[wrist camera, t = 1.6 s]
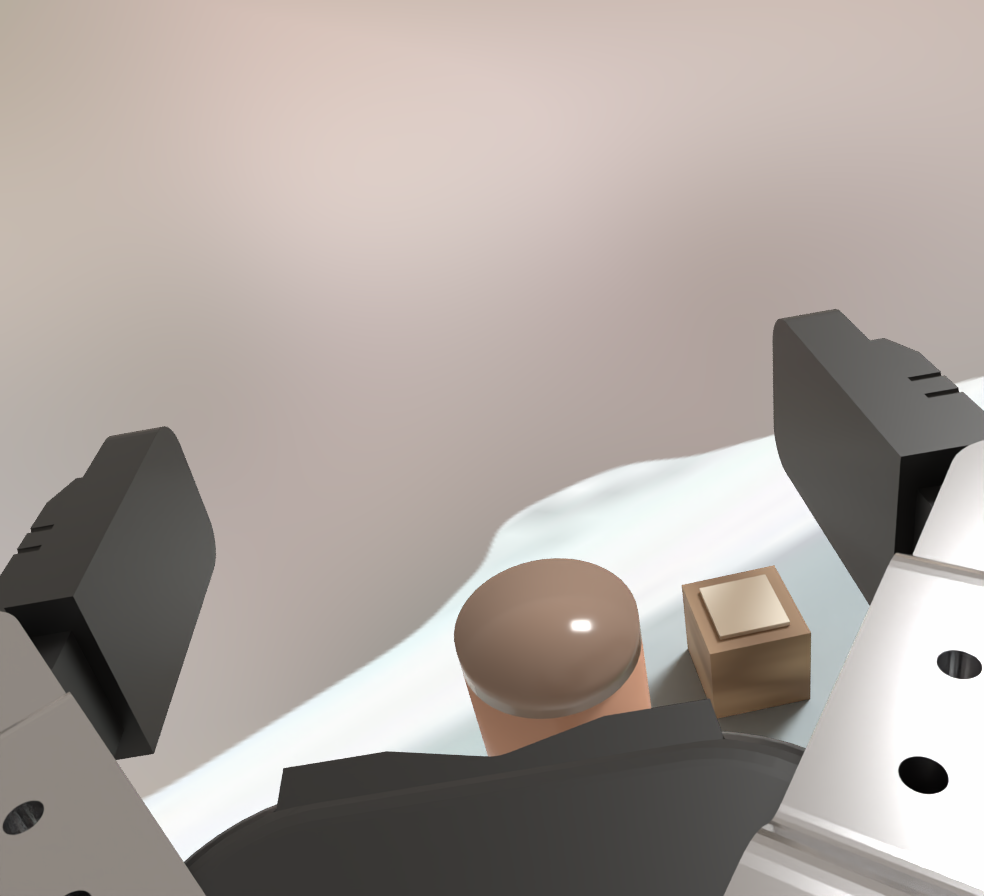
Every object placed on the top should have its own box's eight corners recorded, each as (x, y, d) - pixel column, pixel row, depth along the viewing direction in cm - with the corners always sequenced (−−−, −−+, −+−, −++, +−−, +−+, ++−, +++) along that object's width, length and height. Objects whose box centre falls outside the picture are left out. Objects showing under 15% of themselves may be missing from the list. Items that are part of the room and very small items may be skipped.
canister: (649, 769, 37) (615, 543, 30) (688, 903, 32) (659, 671, 26) (511, 798, 37) (448, 579, 30) (531, 936, 32) (461, 714, 26)
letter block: (775, 631, 42) (774, 561, 39) (810, 700, 38) (810, 629, 36) (688, 649, 42) (681, 581, 39) (714, 720, 38) (709, 650, 36)
